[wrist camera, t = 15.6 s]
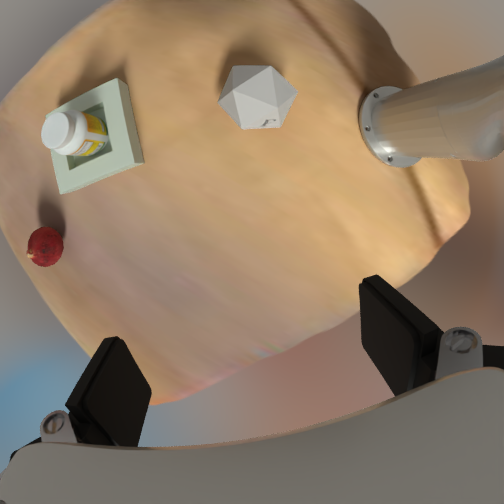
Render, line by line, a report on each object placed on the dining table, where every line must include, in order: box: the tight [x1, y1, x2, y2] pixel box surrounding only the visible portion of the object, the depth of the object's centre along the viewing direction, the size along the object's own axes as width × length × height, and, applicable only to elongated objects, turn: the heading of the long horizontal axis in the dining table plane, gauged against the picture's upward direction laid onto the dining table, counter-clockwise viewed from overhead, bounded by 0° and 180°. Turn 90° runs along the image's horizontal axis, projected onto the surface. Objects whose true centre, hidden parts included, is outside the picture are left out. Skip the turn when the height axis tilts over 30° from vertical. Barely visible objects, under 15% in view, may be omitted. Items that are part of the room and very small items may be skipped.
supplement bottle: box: [41, 110, 109, 156], centre depth 26 cm, size 5×5×10 cm
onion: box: [27, 227, 64, 267], centre depth 32 cm, size 6×6×8 cm
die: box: [217, 65, 298, 129], centre depth 29 cm, size 8×9×10 cm
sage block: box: [45, 78, 144, 194], centre depth 30 cm, size 12×12×4 cm
